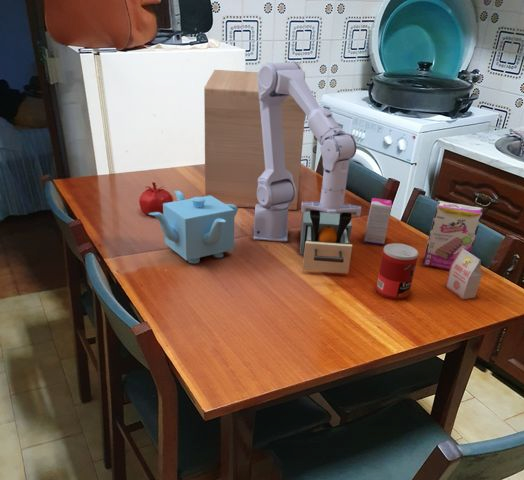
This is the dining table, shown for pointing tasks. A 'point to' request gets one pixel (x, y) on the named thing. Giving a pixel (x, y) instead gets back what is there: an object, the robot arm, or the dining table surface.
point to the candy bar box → (451, 233)
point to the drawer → (326, 253)
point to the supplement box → (378, 221)
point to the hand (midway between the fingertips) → (326, 240)
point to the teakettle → (198, 226)
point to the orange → (327, 235)
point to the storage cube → (243, 138)
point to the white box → (465, 275)
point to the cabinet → (325, 220)
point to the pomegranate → (154, 199)
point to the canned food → (396, 270)
